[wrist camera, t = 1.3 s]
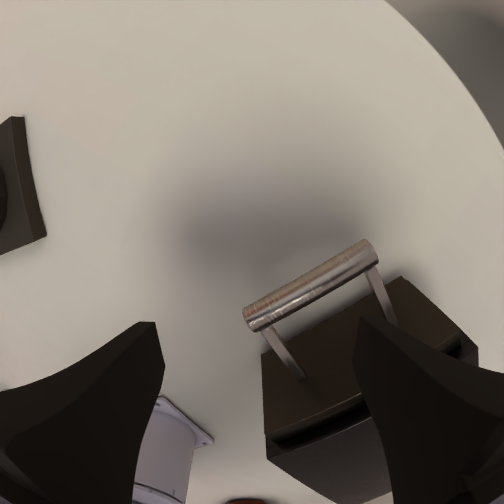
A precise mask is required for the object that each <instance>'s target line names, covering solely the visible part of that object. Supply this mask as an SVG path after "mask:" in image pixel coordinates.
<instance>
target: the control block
mask: <svg viewBox="0 0 504 504" xmlns="http://www.w3.org/2000/svg"><path fill="white" fill-rule="evenodd" d="M45 236H47V234H46V231H45V227H44V224H43V220H42V216H41V213H40V209H39V205H38V201H37V196H36V192H35V187H34V183H33V178H32V172H31V167H30V161H29V155H28V148H27V141H26V133H25V123H24V117H14V116H11V117H9V118H8V119H7V120H5V121H4V122H3V123H2V124H0V255H2V254H4V253H7V252H9V251H12V250H14V249H17V248H19V247H22V246H24V245H27V244H29V243H32V242H35V241H37V240H39V239H41V238H43V237H45Z"/></svg>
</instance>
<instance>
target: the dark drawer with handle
mask: <svg viewBox="0 0 504 504" xmlns="http://www.w3.org/2000/svg"><path fill="white" fill-rule="evenodd" d="M378 263H379V260H378V256H377V254H376V252H375V250H374V248H373V247H372V245H371V244H370V242H369V241H368V240H367V239H362V240H361V241H359V242H358V243H356V244H354V245H353V246H351V247H349V248H348V249H346V250H344V251H343V252H341V253H339V254H338V255H336V256H334V257H333V258H331V259H329V260H328V261H326V262H324V263H322V264H321V265H319V266H317V267H316V268H314V269H312V270H310V271H309V272H307V273H305V274H304V275H302V276H300V277H298V278H297V279H295V280H293V281H291V282H290V283H288V284H286V285H284V286H282V287H281V288H279V289H277V290H275V291H274V292H272V293H270V294H268V295H266V296H265V297H263V298H261V299H259V300H257V301H255V302H254V303H252V304H250V305H248V306H246V307H244V308H243V309H242V313H243V317H244V319H245V322H246V323H247V325H248V327H249V328H250V329H251V330H252V331H253V332H258V331H261V333H262V335H263V336H264V337H265V339H266V340H267V341H268V343H269V344H270V345H271V347H272V348H273V349H271V350H269V351H267V352H265V353H263V354H261V367H262V389H263V412H264V434H265V435H266V436H267V437H268V438H270V439H271V440H272V441H273V442H274V443H277V442H280V441H283V440H286V439H288V438H291V437H294V436H295V437H296V438H298V437H300V436H303V435H306V434H308V433H311V432H313V431H316V430H318V429H321V428H323V427H325V426H328V425H330V424H332V423H334V422H337V421H339V420H341V419H343V418H345V417H347V416H350V415H352V414H354V413H356V412H358V411H360V410H362V409H364V408H366V407H368V406H367V404H366V402H365V399H364V397H363V395H362V392H361V390H360V388H359V385H358V383H357V379H356V376H355V372H354V368H353V365H352V356H353V351H354V346H355V341H356V335H357V329H358V324H359V317H360V316H366V315H377V316H379V317H381V318H383V319H385V320H386V321H388V322H390V323H391V324H393V325H395V326H396V327H398V328H400V329H401V330H403V331H405V332H406V333H408V334H410V335H411V336H413V337H415V338H416V339H418V340H420V341H422V342H423V343H425V344H427V345H429V346H431V347H433V348H434V349H436V350H438V351H440V352H442V353H444V354H446V355H447V354H449V353H450V352H451V351H453V350H454V349H455V348H457V347H458V346H459V345H461V338H460V331H459V329H458V328H457V327H456V326H455V325H454V324H453V323H452V322H451V321H450V320H449V319H448V318H447V317H446V316H445V315H444V314H443V313H442V312H441V311H439V310H438V309H437V308H436V307H435V306H434V305H433V304H432V303H431V302H430V301H429V300H428V299H427V298H425V297H424V296H423V295H422V294H421V293H420V292H419V291H418V290H417V289H416V288H414V287H413V286H412V285H411V284H410V283H409V282H408V281H407V280H405V279H404V278H403V277H402V276H399V277H398V278H396V279H395V280H393V281H392V282H390V283H389V284H387V285H386V286H384V285H383V282H382V280H381V278H380V275H379V273H378V271H377V268H376V266H375V265H376V264H378ZM362 273H364V274H365V276H366V278H367V280H368V282H369V285H370V287H371V289H372V291H373V294H371V295H370V296H368V297H366V298H365V299H363V300H361V301H360V302H358V303H356V304H355V305H353V306H351V307H349V308H348V309H346V310H344V311H343V312H341V313H339V314H337V315H336V316H334V317H332V318H330V319H328V320H327V321H325V322H323V323H321V324H319V325H318V326H316V327H314V328H312V329H310V330H308V331H306V332H305V333H303V334H301V335H299V336H297V337H295V338H293V339H291V340H289V341H287V342H284V341H283V339H282V338H281V336H280V335H279V334H278V332H277V331H276V329H275V328H274V327H273V325H272V324H274V323H276V322H278V321H279V320H281V319H283V318H285V317H287V316H289V315H291V314H292V313H294V312H296V311H298V310H300V309H302V308H303V307H305V306H307V305H309V304H311V303H312V302H314V301H316V300H318V299H320V298H321V297H323V296H325V295H327V294H328V293H330V292H332V291H333V290H335V289H337V288H339V287H340V286H342V285H344V284H345V283H347V282H349V281H350V280H352V279H354V278H355V277H357V276H359V275H360V274H362Z"/></svg>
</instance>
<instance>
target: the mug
mask: <svg viewBox="0 0 504 504" xmlns="http://www.w3.org/2000/svg"><path fill="white" fill-rule="evenodd" d="M229 504H267V503H266V502H263V501H260V500H252V499H243V500H236V501H232V502H230V503H229Z"/></svg>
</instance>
